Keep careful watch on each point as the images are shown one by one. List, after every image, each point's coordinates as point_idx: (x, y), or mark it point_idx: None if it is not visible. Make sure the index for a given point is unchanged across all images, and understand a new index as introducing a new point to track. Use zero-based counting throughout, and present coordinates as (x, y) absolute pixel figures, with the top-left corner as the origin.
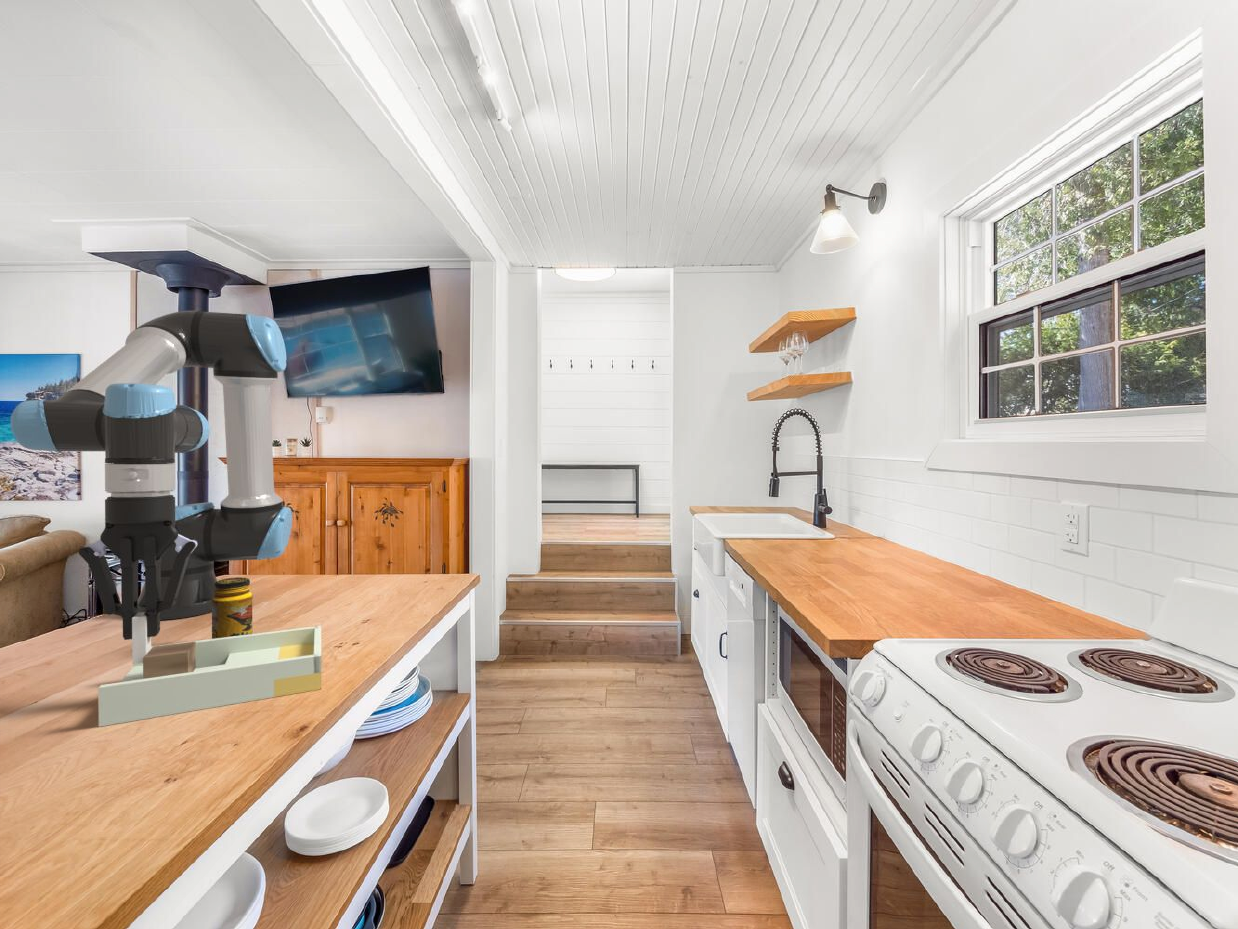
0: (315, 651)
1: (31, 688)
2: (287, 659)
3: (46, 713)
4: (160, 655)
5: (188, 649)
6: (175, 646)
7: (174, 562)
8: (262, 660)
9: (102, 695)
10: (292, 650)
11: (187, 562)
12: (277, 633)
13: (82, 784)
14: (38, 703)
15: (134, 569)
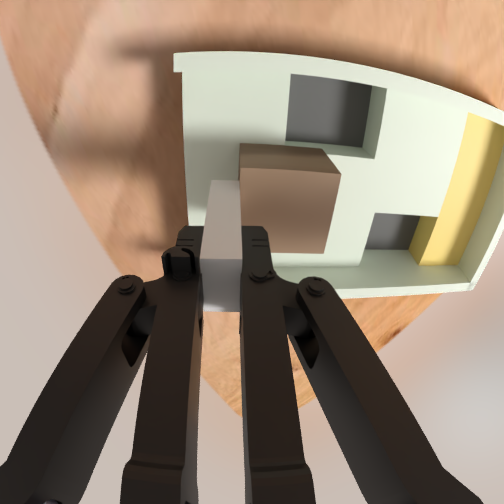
0: (478, 270)
1: (24, 40)
2: (442, 289)
3: (95, 170)
4: (271, 252)
5: (325, 234)
6: (296, 196)
7: (358, 484)
8: (430, 176)
9: None
10: (476, 147)
11: (422, 439)
12: (485, 118)
13: (230, 357)
14: (62, 118)
15: (193, 468)
